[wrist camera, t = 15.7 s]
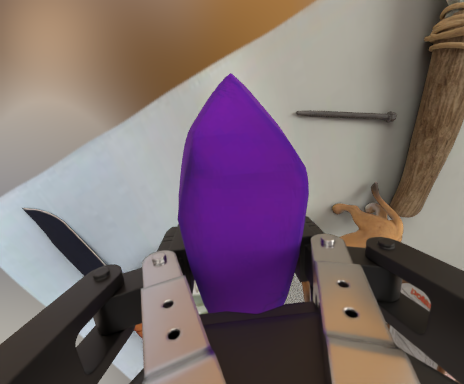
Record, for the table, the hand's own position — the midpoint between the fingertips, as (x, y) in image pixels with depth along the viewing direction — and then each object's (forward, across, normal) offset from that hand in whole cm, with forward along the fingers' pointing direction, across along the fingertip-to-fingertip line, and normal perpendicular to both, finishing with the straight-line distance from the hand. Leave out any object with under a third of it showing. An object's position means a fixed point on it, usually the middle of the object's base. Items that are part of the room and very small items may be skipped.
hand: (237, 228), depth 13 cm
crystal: (-1, 0, +8) cm, 8 cm away
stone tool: (+10, -20, +6) cm, 23 cm away
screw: (+12, -12, -5) cm, 18 cm away
